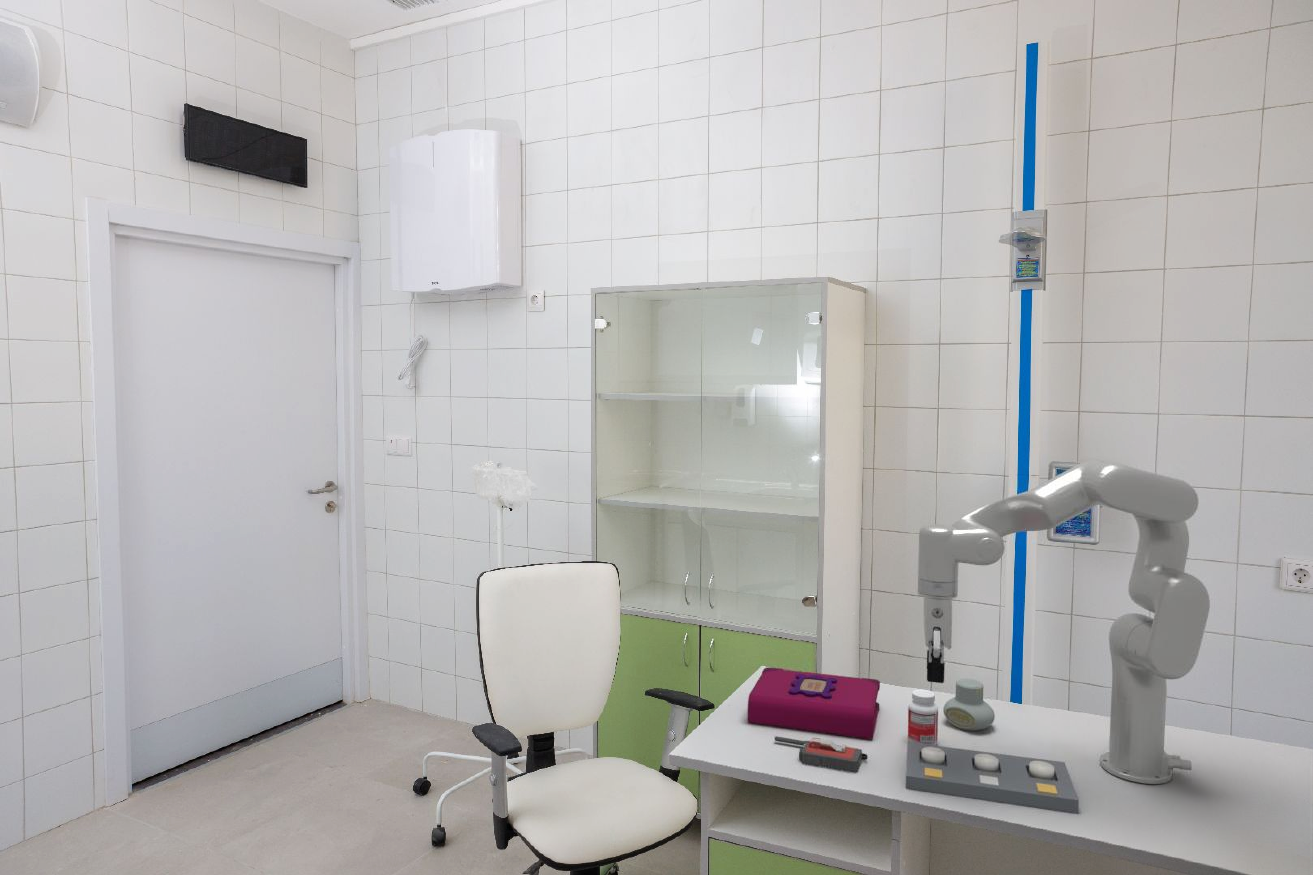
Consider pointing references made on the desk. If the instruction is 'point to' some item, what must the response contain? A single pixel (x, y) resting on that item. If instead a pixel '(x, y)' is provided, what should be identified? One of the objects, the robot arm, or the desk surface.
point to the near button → (1041, 770)
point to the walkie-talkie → (828, 754)
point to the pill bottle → (923, 718)
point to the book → (815, 702)
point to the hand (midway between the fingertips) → (935, 675)
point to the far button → (933, 755)
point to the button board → (991, 779)
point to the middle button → (986, 762)
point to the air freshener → (969, 706)
